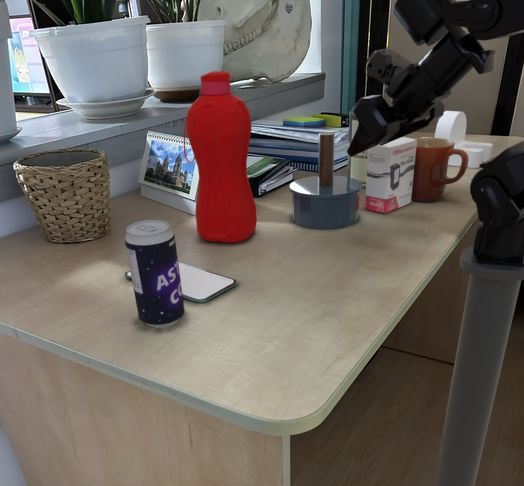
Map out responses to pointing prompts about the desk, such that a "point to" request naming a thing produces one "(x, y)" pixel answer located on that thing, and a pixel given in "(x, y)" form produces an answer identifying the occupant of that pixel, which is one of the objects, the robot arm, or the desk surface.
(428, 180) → the mug
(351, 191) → the lid
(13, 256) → the desk surface
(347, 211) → the pot
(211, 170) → the water bottle
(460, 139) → the tape dispenser
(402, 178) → the ink box
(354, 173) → the coffee can
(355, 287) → the desk surface
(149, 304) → the beverage can
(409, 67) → the robot arm
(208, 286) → the smartphone
